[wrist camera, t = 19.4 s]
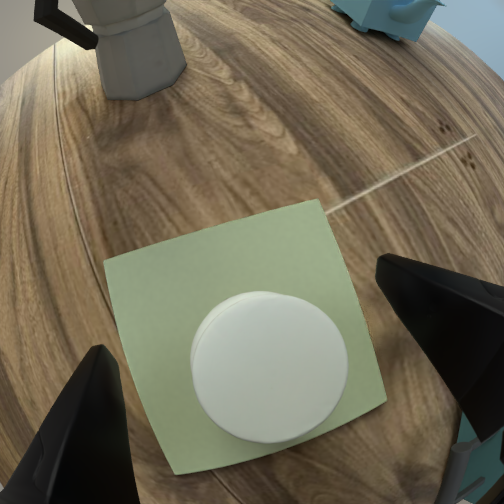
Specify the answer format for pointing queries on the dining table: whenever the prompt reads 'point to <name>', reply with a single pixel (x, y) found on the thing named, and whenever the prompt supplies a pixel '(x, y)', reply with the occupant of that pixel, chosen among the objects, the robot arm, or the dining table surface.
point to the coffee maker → (122, 42)
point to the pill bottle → (268, 366)
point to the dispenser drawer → (471, 466)
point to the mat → (208, 297)
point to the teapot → (389, 15)
